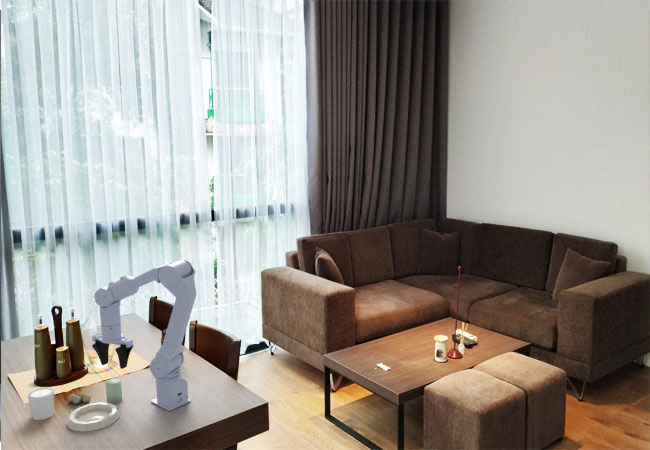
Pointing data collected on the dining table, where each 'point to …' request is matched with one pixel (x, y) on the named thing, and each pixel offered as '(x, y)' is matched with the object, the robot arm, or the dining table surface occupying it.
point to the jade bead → (114, 391)
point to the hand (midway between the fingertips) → (114, 365)
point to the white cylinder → (41, 403)
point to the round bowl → (93, 417)
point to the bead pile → (79, 398)
